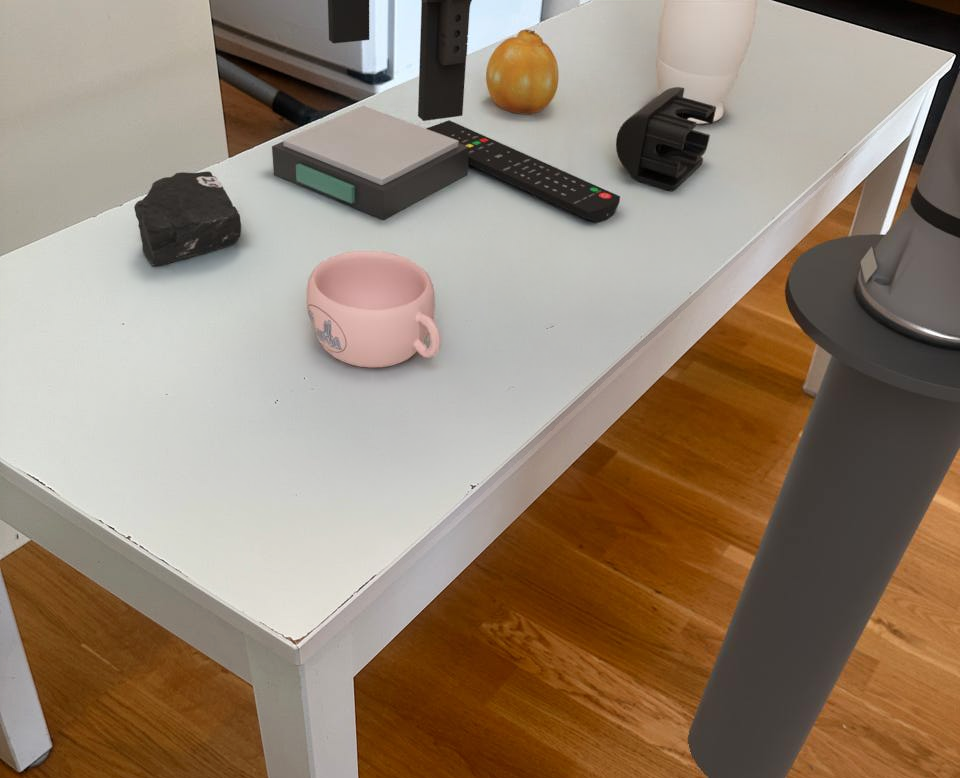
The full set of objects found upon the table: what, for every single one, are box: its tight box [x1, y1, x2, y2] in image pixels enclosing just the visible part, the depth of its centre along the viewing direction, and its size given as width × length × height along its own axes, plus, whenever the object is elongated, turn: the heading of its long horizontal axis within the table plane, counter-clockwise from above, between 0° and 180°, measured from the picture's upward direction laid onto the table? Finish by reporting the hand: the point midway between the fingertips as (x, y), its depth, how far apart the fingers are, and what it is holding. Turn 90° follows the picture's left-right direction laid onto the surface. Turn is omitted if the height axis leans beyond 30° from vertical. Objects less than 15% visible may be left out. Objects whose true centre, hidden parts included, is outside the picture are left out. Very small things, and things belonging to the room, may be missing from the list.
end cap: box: [615, 87, 716, 192], centre depth 107 cm, size 10×7×7 cm
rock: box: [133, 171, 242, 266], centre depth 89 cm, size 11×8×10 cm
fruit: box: [485, 29, 559, 115], centre depth 116 cm, size 8×8×8 cm
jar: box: [656, 0, 758, 125], centre depth 116 cm, size 11×10×15 cm
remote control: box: [425, 119, 621, 223], centre depth 105 cm, size 5×24×1 cm, turn 48°
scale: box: [271, 105, 469, 221], centre depth 102 cm, size 14×14×3 cm
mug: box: [305, 250, 442, 368], centre depth 80 cm, size 12×10×6 cm
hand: (392, 76), depth 66 cm, fingers open, 13 cm apart
